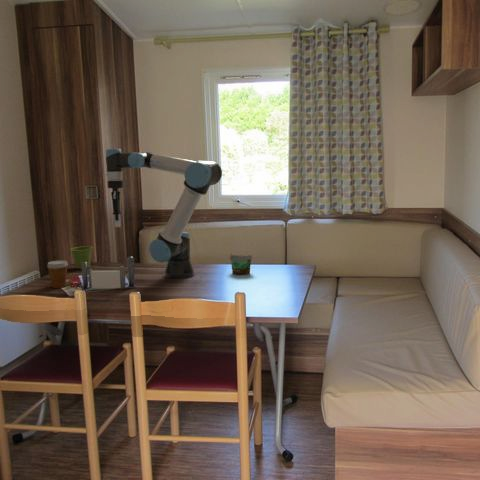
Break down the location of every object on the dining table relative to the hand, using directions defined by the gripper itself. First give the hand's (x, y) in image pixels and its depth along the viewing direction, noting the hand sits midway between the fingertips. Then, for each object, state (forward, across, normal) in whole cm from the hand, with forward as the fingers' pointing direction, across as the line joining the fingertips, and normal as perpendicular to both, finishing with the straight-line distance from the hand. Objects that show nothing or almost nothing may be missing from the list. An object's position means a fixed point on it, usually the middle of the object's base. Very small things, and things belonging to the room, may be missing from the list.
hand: (117, 226), depth 264 cm
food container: (+27, +4, +61) cm, 67 cm away
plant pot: (+27, -26, -24) cm, 44 cm away
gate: (+26, +23, -3) cm, 34 cm away
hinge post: (+26, +21, -14) cm, 36 cm away
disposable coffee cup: (+27, +13, -28) cm, 41 cm away
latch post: (+26, +21, +8) cm, 35 cm away
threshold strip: (+26, +21, -3) cm, 34 cm away
